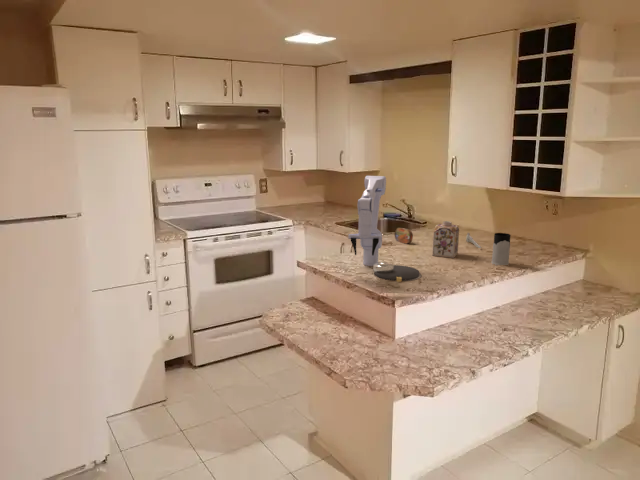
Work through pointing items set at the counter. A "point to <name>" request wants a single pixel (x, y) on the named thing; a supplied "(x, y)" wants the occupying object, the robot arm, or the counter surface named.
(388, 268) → the cover
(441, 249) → the decorative jar
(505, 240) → the glass holder
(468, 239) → the caliper
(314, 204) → the counter surface
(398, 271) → the turntable
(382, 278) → the base
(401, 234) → the tin
